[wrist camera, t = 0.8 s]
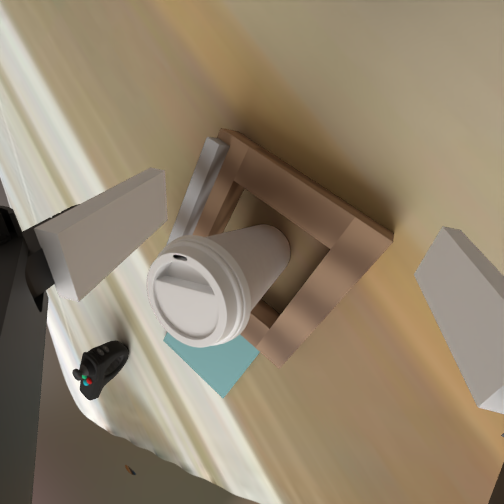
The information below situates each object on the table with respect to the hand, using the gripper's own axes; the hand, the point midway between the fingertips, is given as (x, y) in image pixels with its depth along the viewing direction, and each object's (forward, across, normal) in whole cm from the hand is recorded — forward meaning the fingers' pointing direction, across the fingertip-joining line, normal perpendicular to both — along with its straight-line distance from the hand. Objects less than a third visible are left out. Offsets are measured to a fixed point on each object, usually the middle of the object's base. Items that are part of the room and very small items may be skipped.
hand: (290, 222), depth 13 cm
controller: (+18, -27, -46) cm, 56 cm away
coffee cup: (+16, -2, -12) cm, 20 cm away
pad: (+14, -8, -30) cm, 34 cm away
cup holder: (+16, -2, -12) cm, 20 cm away
